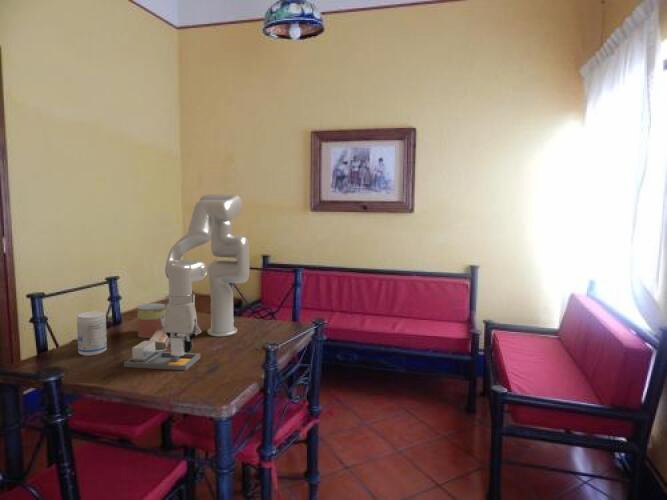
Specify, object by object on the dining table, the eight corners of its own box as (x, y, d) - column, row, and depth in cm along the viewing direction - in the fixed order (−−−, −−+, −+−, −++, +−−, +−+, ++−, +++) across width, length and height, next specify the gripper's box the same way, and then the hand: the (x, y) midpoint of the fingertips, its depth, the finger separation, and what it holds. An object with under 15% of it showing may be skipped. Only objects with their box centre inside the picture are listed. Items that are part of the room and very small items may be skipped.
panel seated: (145, 356, 162) (144, 340, 161) (155, 357, 161) (155, 341, 161) (132, 364, 154) (132, 347, 153) (143, 365, 154) (143, 348, 153)
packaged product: (150, 328, 184) (176, 328, 186) (151, 340, 184) (176, 339, 186) (139, 342, 166) (168, 341, 168) (140, 355, 167) (168, 354, 169)
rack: (142, 356, 164) (142, 349, 164) (200, 359, 162) (200, 352, 161) (123, 369, 152) (123, 360, 152) (185, 372, 150) (185, 364, 149)
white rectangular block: (181, 347, 160) (181, 331, 159) (192, 348, 159) (191, 331, 159) (171, 355, 152) (170, 338, 151) (182, 355, 151) (181, 338, 151)
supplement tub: (74, 352, 168) (72, 314, 166) (100, 346, 175) (98, 309, 174) (85, 358, 162) (83, 318, 160) (111, 351, 169) (110, 313, 167)
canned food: (162, 337, 187) (161, 309, 186) (134, 338, 186) (133, 309, 184) (168, 329, 198) (168, 302, 197) (142, 330, 197) (141, 303, 195)
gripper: (152, 301, 151) (153, 353, 153) (199, 302, 149) (200, 356, 151) (162, 296, 158) (164, 346, 160) (208, 298, 156) (209, 348, 158)
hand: (182, 350), depth 156 cm, fingers closed on white rectangular block, 4 cm apart
